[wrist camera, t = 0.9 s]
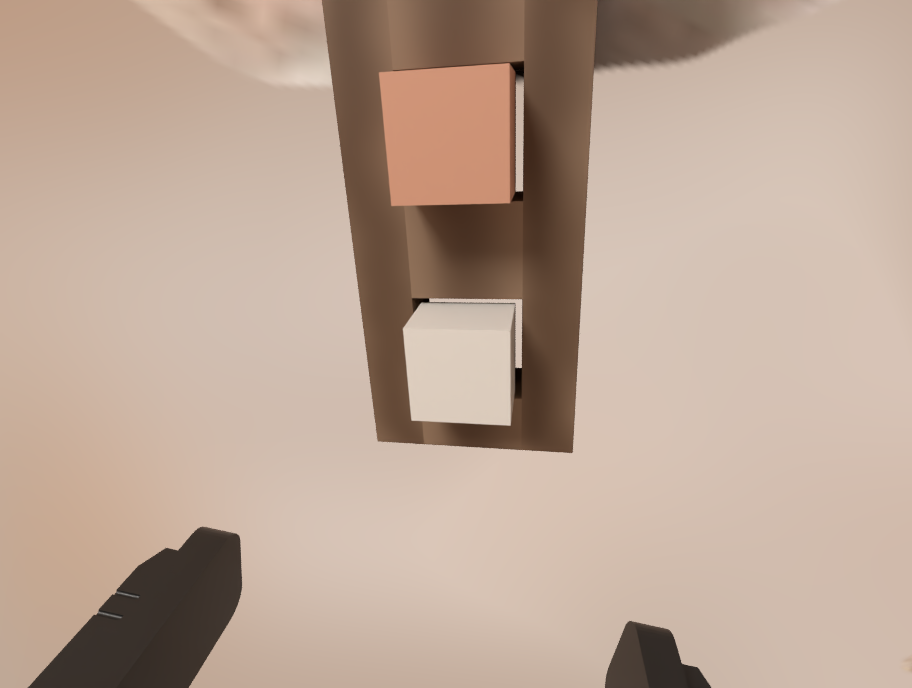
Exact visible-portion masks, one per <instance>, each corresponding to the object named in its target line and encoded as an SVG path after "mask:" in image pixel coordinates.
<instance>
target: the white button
mask: <svg viewBox="0 0 912 688" xmlns="http://www.w3.org/2000/svg"><path fill="white" fill-rule="evenodd" d="M403 336H404V347H405V357H406V368H407V379H408V389H409V400H410V411H411V421H430V422H450V423H469V424H488V425H507V426H511V418H512V410H513V402H514V394H515V303H445V302H421V304H420V305H419V307H418V308H417V309H416V311H415V312H414V314H413V315H412V316H411V318H410V319H409V321H408V322H407V323H406V325H405V326H404V328H403Z"/></svg>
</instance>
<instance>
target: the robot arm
mask: <svg viewBox="0 0 912 688" xmlns="http://www.w3.org/2000/svg"><path fill="white" fill-rule="evenodd" d="M240 549H241V548H240V537H239V535H237V534H235V533H230V532H226V531H221V530H216V529H211V528H207V527H200V528H198V529H197V530H196V531H195V532H194V533H193V534H192V535H191V536H190V537H189V539H188V540H187V541H186V542H185V543H184V544H183V546H182V547H181V548H180V549H179V550H178V551H177V550H173V549H169V548H166V549H164V550H162V551H161V552H159V553H158V554H156V555H155V556H153V557H151V558H150V559H149V560H147V561H145V562H144V563H142V564H141V565H139V566H138V567H137V568H136V569H135V570H134V571H133V572H132V574H131V575H130V576H129V577H128V578H127V579H126V580H125V581H124V582H123V583H122V585H121V586H120V587H119V588H118V589H117V592H116V593H115V595H112V596H111V597H110V598H109V599H108V600H107V601H106V602H105V603H104V605H102V607H101V608H100V609H99V612H98V613H97V615H93V616H92V618H91V619H90V620H89V621H88V622H87V623H86V624H85V625H84V626H83V628H82V629H81V630H80V631H79V632H78V633H77V634H76V635H75V636H74V638H73V639H72V640H71V641H70V642H69V643H68V644H67V645H66V646H65V647H64V648H63V650H62V651H61V652H60V653H59V654H58V655H57V656H56V657H55V658H54V660H53V661H52V662H51V663H50V664H49V665H48V666H47V667H46V668H45V669H44V671H43V672H42V673H41V674H40V675H39V676H38V677H37V678H36V679H35V681H34V682H33V683H32V684H31V685H30V686H29V687H28V688H189V686H190V685H191V683H192V681H193V679H194V678H195V676H196V675H197V673H198V672H199V670H200V668H201V667H202V665H203V663H204V662H205V660H206V659H207V657H208V655H209V654H210V652H211V650H212V649H213V647H214V645H215V644H216V642H217V641H218V639H219V637H220V636H221V634H222V632H223V631H224V629H225V628H226V626H227V624H228V623H229V621H230V619H231V617H232V616H233V614H234V612H235V609H236V607H237V605H238V602H239V599H240V595H241V590H242V574H241V550H240ZM605 683H606V684H605V688H711V687H710V685H709V684H708V682H707V681H706V679H705V678H704V676H703V675H702V673H701V672H700V670H699V669H698V668H697V667H693V666H688V665H684V664H682V663H681V660H680V656H679V653H678V649H677V646H676V643H675V639H674V637H673V634H672V633H671V631H669V630H668V629H664V628H660V627H655V626H650V625H646V624H641V623H637V622H632V621H629V622H628V623H627V624H626V626H625V628H624V631H623V633H622V636H621V638H620V641H619V643H618V645H617V648H616V651H615V653H614V655H613V658H612V660H611V663H610V665H609V668H608V671H607V675H606V682H605Z"/></svg>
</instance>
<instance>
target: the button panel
mask: <svg viewBox="0 0 912 688" xmlns="http://www.w3.org/2000/svg"><path fill="white" fill-rule="evenodd" d="M597 1H598V0H322V5H323V13H324V21H325V28H326V36H327V44H328V52H329V60H330V68H331V76H332V84H333V92H334V100H335V107H336V115H337V123H338V131H339V138H340V147H341V154H342V163H343V171H344V178H345V186H346V194H347V202H348V210H349V218H350V226H351V233H352V242H353V248H354V249H353V250H354V257H355V265H356V273H357V281H358V289H359V297H360V305H361V313H362V321H363V328H364V336H365V344H366V352H367V360H368V368H369V376H370V384H371V392H372V399H373V407H374V415H375V423H376V431H377V439H378V441H382V442H399V443H415V444H432V445H450V446H466V447H482V448H499V449H516V450H532V451H549V452H567V453H572V452H573V435H574V417H575V399H576V381H577V362H578V344H579V327H580V325H579V324H580V308H581V291H582V272H583V254H584V236H585V218H586V200H587V199H586V198H587V182H588V164H589V163H588V162H589V145H590V127H591V109H592V91H593V73H594V55H595V37H596V19H597ZM504 63H510V65H511V66H512V68H513V69H514V71H517V70H524V149H523V151H524V153H523V157H524V158H523V160H524V161H523V191H522V192H515V194H514V196H513V198H512V200H511V202H510V203H500V204H457V205H414V206H391V197H390V186H389V175H388V165H387V154H386V143H385V133H384V122H383V111H382V101H381V90H380V79H379V72H391V71H405V70H419V69H434V68H448V67H462V66H476V65H490V64H504ZM429 298H454V299H455V298H458V299H460V298H461V299H522V368H515V394H514V402H513V410H512V418H511V426H507V425H488V424H469V423H450V422H430V421H411V411H410V400H409V389H408V379H407V368H406V357H405V347H404V336H403V328H404V326H405V325H406V323H407V322H408V321H409V319H410V318H411V316H412V315H413V314H414V312H415V311H416V309H417V308H418V307H419V305H420V304H421V302H429Z"/></svg>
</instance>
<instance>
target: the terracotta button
mask: <svg viewBox="0 0 912 688" xmlns="http://www.w3.org/2000/svg"><path fill="white" fill-rule="evenodd" d="M379 79H380V90H381V101H382V111H383V122H384V133H385V143H386V154H387V165H388V175H389V186H390V197H391V206H414V205H457V204H500V203H510V202H511V200H512V198H513V196H514V194H515V183H516V176H515V175H516V173H515V172H516V171H515V170H516V167H515V165H516V164H515V163H516V162H515V161H516V159H515V158H516V156H515V155H516V154H515V153H516V152H515V151H516V150H515V149H516V148H515V147H516V144H515V143H516V137H515V136H516V133H515V132H516V128H515V127H516V123H515V122H516V110H515V109H516V98H515V97H516V73H515V71H514V69H513V68H512V66H511V65H510V63H504V64H490V65H476V66H462V67H448V68H434V69H419V70H405V71H391V72H379Z"/></svg>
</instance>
